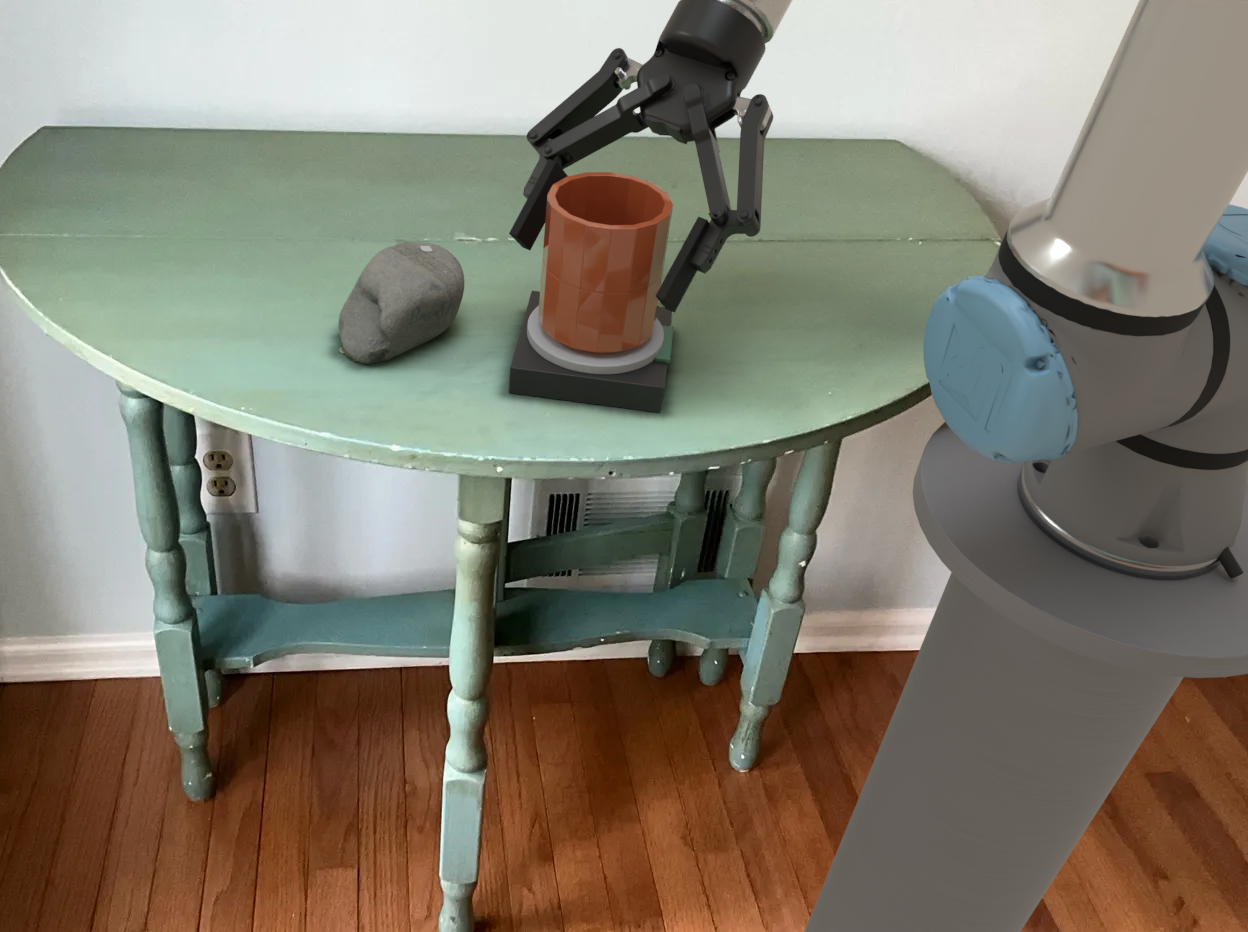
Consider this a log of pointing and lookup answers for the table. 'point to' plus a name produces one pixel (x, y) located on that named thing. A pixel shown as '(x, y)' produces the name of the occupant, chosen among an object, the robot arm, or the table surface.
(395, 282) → the stone
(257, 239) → the table surface
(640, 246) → the terracotta flower pot
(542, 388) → the scale
